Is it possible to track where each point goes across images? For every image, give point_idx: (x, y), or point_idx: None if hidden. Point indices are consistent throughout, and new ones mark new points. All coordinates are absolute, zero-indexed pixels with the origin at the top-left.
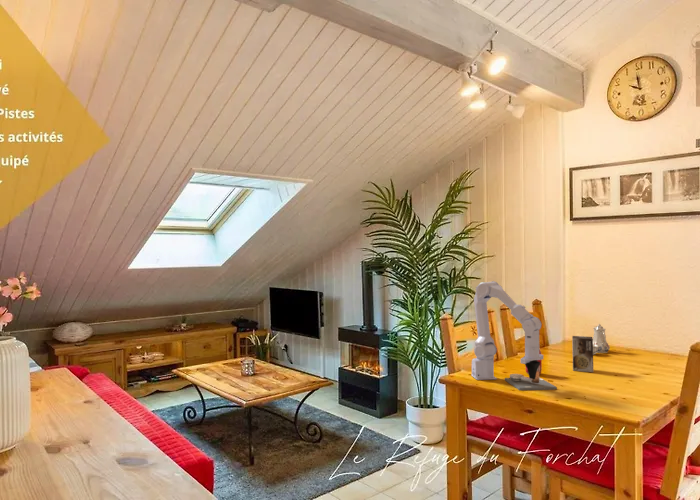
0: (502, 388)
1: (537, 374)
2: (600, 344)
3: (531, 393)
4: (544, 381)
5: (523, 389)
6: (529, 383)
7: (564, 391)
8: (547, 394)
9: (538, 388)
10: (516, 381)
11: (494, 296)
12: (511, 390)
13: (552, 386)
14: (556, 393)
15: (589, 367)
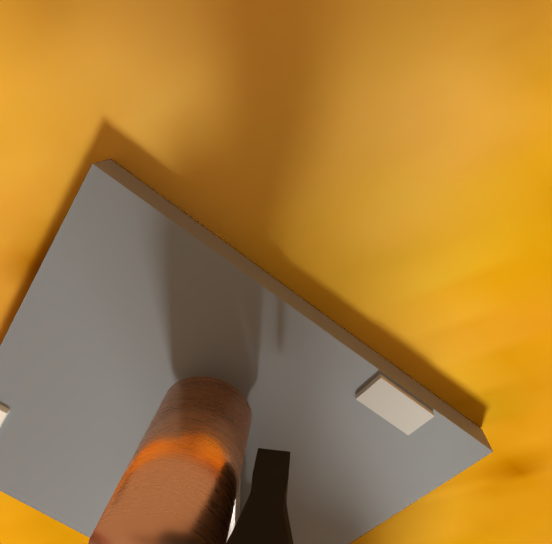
0: (515, 539)
1: (192, 490)
2: None
3: (531, 299)
4: (17, 374)
5: (451, 411)
6: None
7: (100, 25)
8: (444, 131)
9: (313, 314)
10: None
11: None
12: (537, 474)
13: (119, 219)
14: (295, 59)
15: None
